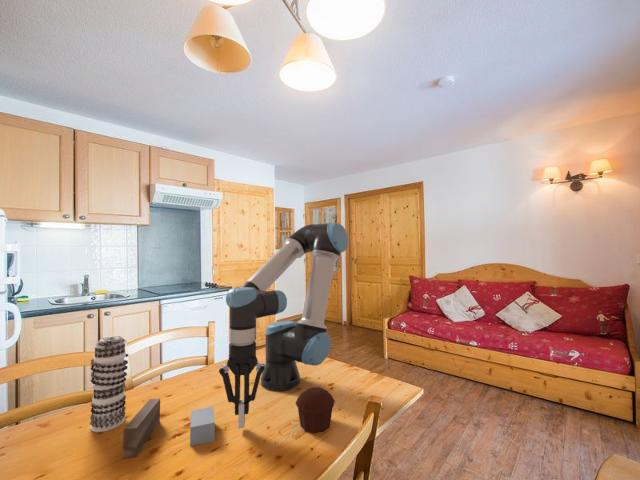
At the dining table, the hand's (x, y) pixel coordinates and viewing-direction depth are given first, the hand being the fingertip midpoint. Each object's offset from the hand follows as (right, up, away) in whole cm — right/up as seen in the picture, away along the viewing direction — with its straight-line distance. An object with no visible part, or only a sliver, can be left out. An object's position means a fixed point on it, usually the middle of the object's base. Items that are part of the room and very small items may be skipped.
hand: (241, 425), depth 84 cm
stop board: (-26, -1, -4) cm, 26 cm away
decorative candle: (-41, -2, +3) cm, 41 cm away
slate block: (-11, -2, -1) cm, 11 cm away
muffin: (+21, -2, +3) cm, 21 cm away
